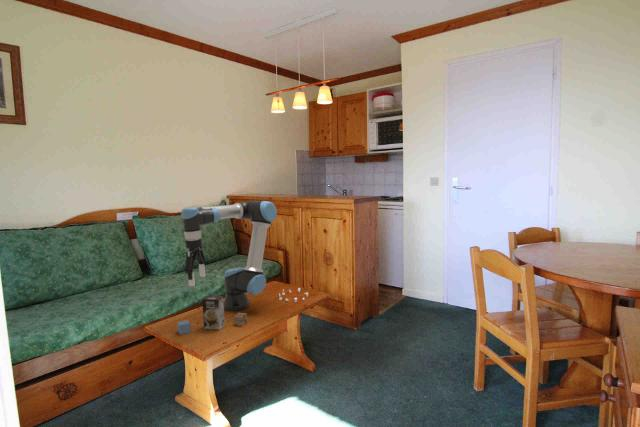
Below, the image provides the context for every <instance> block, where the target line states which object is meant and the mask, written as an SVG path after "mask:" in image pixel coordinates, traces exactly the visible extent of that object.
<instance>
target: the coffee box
mask: <svg viewBox="0 0 640 427" xmlns="http://www.w3.org/2000/svg"><path fill="white" fill-rule="evenodd" d="M201 302H202V312H203V313H202V316H203V317H202V318H203V329H204V330H221V329H222V328H223V327H224V326H225V312H224V311H225V309H224V305H223V303H224V296H223V295H206V296H205V297H203V298H202V300H201Z"/></svg>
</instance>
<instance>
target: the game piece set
mask: <svg viewBox="0 0 640 427" xmlns="http://www.w3.org/2000/svg"><path fill="white" fill-rule="evenodd" d="M297 292H299V293H301V287H298V288H297ZM289 293H292V290H289ZM281 294H282V295H283V296H284V295H285V294H286V293H285V290H284V288H283V289H282V292H281V293H278V295H279V296H278V297H279V298H278V299H279V301H282V300H283V297H281V296H282V295H281ZM304 295H306V296H305V297H309V292H308V291H307V292H304ZM305 297H304V296H303V297H302V300H303V301H304V300H305ZM297 300H298V298H297V297H294V303H296V302H298V301H297ZM288 301H289V299H288V298H285V302H288Z"/></svg>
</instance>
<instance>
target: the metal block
mask: <svg viewBox="0 0 640 427" xmlns="http://www.w3.org/2000/svg"><path fill="white" fill-rule="evenodd" d="M247 323H248V314H247V313H244V312H237V313H236V314H235V315H233V325H234V326H239V327H244V326H245V325H246V324H247Z"/></svg>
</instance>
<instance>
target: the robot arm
mask: <svg viewBox="0 0 640 427" xmlns="http://www.w3.org/2000/svg"><path fill="white" fill-rule="evenodd" d="M277 212H278V210H277V207H276V206H275V204H274V203H273V202H271V201H269V200H268V201H267V200H247V201H242V202H235V203H234V204H227V205H226V204H225V205H214V206H213V205H212V206H203V207H202V206H200V207H196V206H192V207H191V206H190V207H185V208H183V209H182V210H181V214H180V217H181V219H182V223H183V235H184V240H185V243H184V244H185V248H186V249H188V251H186V252H185V257H186V258H185V268H184V273H185V274H187V281H188V286H189V287H195V286H196V284H195V272H194V266H195V262H196V260H197V262H198V272H199V273H198V274H199V277H200V278H204V277H206V269H205V264H207V259H206V256H205V253H204V249H203V242H202V232H201V226H203V225H204V226H205V225H210V224H215V223H217V222H219V221H220V220H223V219H233V218H235V219H237V220H241V219H243V220H250V223H251V224H252V230H251V237H250V243H249V249H248V256H247V261H246V266H245V267H232V268H230V269H227V270H225V272H224V286H225V287H224V288H225V295H224V296H225V297H224V300H223V305H224V310H226V311H230V312H234V311H235V312H236V311H241V310H244V309H246V308H248V307H249V306H250V300H249V299H248V295H247V294H249V295H260V294H261V292H263V291H264V289H265V288H266V285H267V279H266V277H265V275H264V270H263V268H262V265H263V260H264V253H265V249H266V248H265V247H266V241H267V235H268V228H269V227H271V225H272V222H273V221H275V220H276V218H277Z"/></svg>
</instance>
